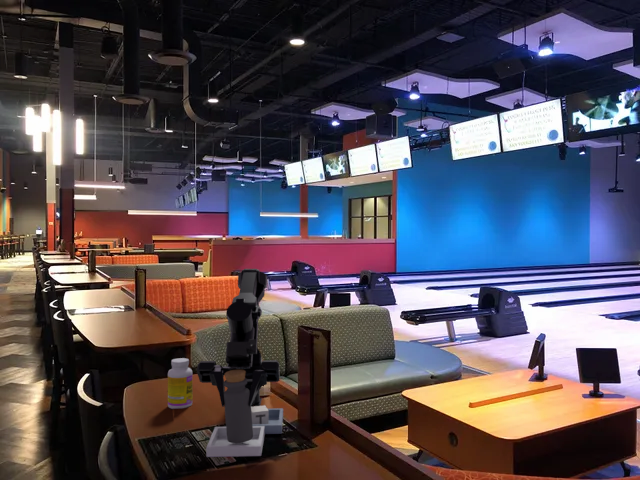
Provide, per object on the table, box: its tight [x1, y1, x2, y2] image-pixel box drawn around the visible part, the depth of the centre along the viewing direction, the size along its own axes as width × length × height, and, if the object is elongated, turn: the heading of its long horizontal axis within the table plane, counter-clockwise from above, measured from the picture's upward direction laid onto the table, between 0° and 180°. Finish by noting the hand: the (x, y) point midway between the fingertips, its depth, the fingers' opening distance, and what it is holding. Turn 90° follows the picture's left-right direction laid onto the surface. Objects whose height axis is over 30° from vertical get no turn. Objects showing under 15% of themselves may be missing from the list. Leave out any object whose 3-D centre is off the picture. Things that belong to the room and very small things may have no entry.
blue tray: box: [252, 407, 284, 435], centre depth 130 cm, size 12×12×2 cm
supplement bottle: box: [167, 357, 194, 410], centre depth 145 cm, size 7×7×13 cm
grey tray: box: [205, 426, 266, 458], centre depth 117 cm, size 12×12×2 cm
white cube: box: [251, 404, 269, 424], centre depth 130 cm, size 4×4×4 cm
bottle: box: [224, 370, 253, 443], centre depth 117 cm, size 6×6×15 cm
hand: (236, 405), depth 116 cm, fingers closed on bottle, 6 cm apart
